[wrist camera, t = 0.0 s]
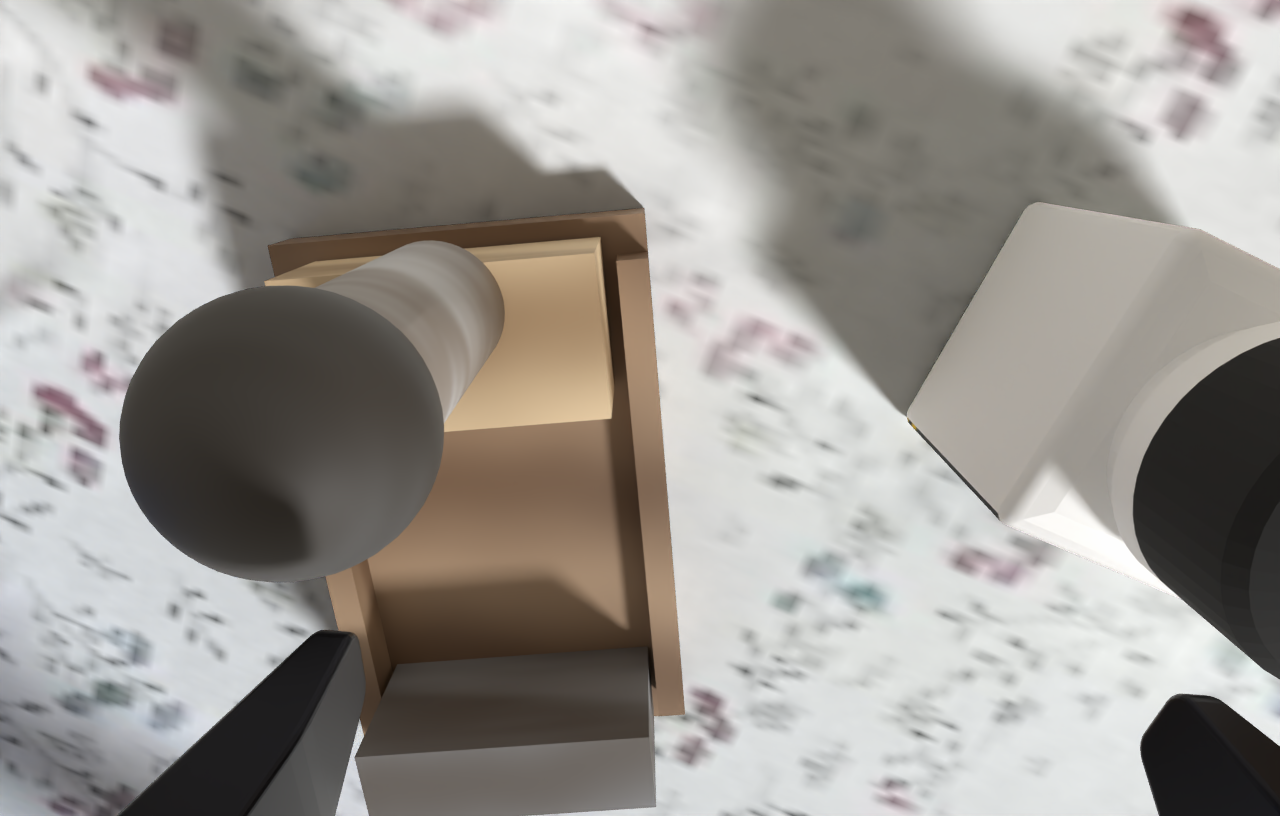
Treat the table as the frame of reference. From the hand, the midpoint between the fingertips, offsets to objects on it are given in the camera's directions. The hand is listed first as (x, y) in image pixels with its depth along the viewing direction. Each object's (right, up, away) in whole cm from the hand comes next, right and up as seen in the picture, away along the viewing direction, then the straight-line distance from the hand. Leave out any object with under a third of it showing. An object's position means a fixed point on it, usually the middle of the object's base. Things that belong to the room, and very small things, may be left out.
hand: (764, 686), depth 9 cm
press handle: (-6, +6, +13) cm, 15 cm away
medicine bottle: (+11, +5, +15) cm, 19 cm away
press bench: (-6, +1, +16) cm, 17 cm away
